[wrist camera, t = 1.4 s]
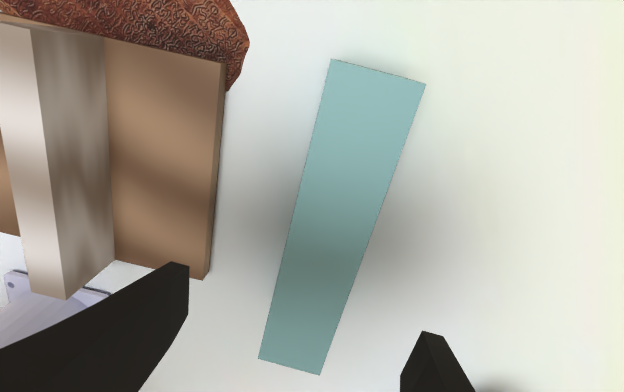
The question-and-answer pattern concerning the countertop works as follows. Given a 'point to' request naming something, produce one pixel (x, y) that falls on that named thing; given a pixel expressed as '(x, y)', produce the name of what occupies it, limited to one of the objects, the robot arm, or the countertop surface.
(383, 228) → the countertop surface
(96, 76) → the ridge
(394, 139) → the teal rectangular bar
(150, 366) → the robot arm
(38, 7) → the wooden tablet
